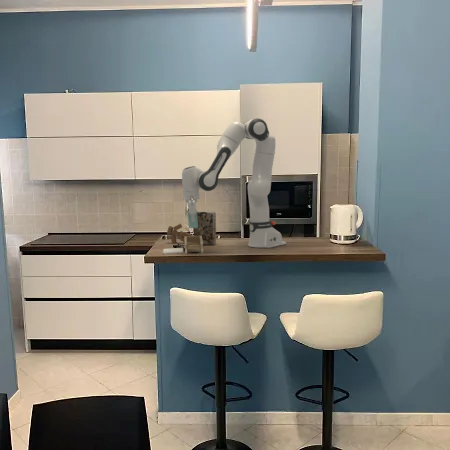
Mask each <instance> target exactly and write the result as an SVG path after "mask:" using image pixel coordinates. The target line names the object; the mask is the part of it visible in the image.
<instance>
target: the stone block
mask: <svg viewBox="0 0 450 450" xmlns="http://www.w3.org/2000/svg"><path fill="white" fill-rule="evenodd" d="M216 216H217V214H216V211H213V210H212V211H210V210H207V211H206V210H205V211H203V210H201V211H200V210H197V220H198V228H192V230H193V236H202V239H203V246H204V245H205V246H206V245H207V246H209V245H210V246H211V245H212V246H214V245H216V244H217V220H216V219H217V217H216Z"/></svg>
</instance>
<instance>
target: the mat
mask: <svg viewBox="0 0 450 450" xmlns="http://www.w3.org/2000/svg"><path fill="white" fill-rule="evenodd" d="M183 253H184V247H176V248H175V247H173V248H171V247H170V248H163V250H162V254H163V255H169V254H183Z"/></svg>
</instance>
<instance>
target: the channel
mask: <svg viewBox="0 0 450 450" xmlns="http://www.w3.org/2000/svg"><path fill="white" fill-rule="evenodd" d="M183 237H184V240H185V242H184V254H185V255H188V253H196V252H197V253H198V252H199V253H200V254H202V255H203V254H204V245H203V239H202V236H194V235H192V236H183Z"/></svg>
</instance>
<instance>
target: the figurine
mask: <svg viewBox="0 0 450 450" xmlns="http://www.w3.org/2000/svg"><path fill="white" fill-rule="evenodd" d="M182 228H183V225H182V224H181V223H179V224H177V225H175V226H174V227H173V226H172V225H169V226H168V228H167V230H166V231H167V232H166V235H169V236H170V239H171V240H170V241H171V244H176V243H177V240H180V241H181V242H183V243H185V240H184V236H193V235H192V234H191V233H189V232H188V231H182V230H180V229H182ZM179 230H180V231H179Z"/></svg>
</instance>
